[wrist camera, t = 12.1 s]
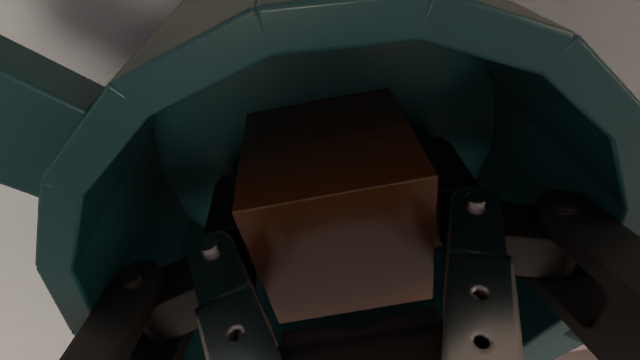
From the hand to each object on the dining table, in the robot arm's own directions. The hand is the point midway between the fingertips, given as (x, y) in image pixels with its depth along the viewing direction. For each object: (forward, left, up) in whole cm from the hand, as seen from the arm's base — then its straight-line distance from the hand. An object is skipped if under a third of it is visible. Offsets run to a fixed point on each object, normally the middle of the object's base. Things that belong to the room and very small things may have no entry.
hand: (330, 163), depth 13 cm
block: (0, 0, 0) cm, 0 cm away
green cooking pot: (0, 0, -1) cm, 1 cm away
